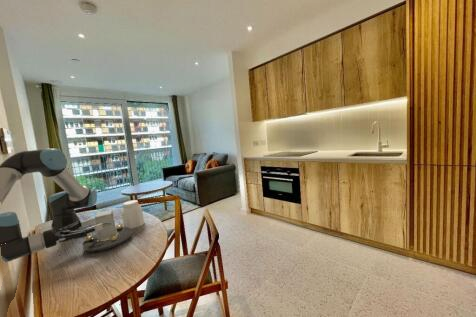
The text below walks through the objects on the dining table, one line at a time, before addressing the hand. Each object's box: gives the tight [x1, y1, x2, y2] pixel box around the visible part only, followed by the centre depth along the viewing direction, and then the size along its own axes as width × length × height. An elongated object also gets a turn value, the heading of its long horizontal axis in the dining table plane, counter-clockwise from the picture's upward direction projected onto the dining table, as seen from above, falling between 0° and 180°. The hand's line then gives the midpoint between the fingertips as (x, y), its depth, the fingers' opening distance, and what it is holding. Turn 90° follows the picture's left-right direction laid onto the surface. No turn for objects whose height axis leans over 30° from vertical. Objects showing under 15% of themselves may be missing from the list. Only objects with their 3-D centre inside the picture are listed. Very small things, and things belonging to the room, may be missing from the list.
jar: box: [121, 199, 145, 230], centre depth 131 cm, size 12×10×15 cm
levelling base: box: [82, 223, 133, 253], centre depth 111 cm, size 22×22×6 cm
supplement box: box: [94, 209, 116, 240], centre depth 110 cm, size 7×7×13 cm
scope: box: [61, 213, 81, 231], centre depth 123 cm, size 8×14×10 cm
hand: (99, 222), depth 108 cm, fingers open, 13 cm apart
